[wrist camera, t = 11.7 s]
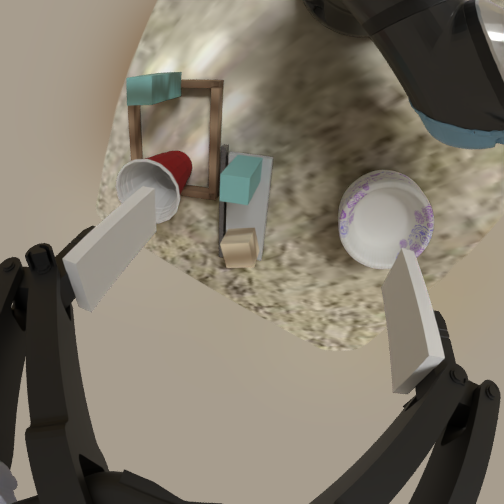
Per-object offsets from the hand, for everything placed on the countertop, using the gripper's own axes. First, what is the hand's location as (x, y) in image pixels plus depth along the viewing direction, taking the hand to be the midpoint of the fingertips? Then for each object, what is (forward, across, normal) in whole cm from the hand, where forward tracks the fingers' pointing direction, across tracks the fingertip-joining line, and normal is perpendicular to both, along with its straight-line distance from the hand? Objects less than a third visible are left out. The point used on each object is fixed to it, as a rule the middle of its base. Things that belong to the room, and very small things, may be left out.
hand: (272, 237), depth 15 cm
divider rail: (+33, -11, -18) cm, 39 cm away
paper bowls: (+34, +15, -11) cm, 38 cm away
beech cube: (+32, -6, -23) cm, 40 cm away
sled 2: (+33, -7, -17) cm, 38 cm away
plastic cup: (+34, -20, -12) cm, 41 cm away
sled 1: (+33, -21, -6) cm, 40 cm away
